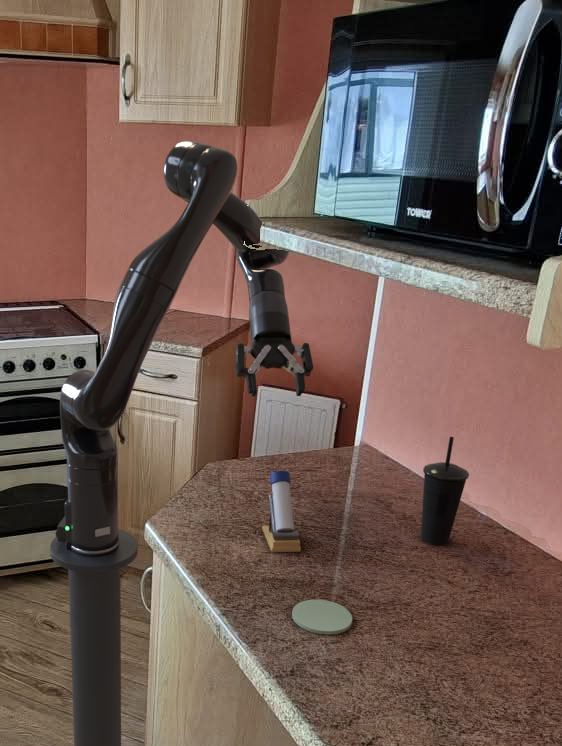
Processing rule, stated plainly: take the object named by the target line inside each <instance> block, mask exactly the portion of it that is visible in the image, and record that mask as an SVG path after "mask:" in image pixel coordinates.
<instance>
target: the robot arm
mask: <svg viewBox="0 0 562 746" xmlns="http://www.w3.org/2000/svg"><path fill="white" fill-rule="evenodd" d="M237 175H238V161H237V158H236V156H235V155H234V154H233V153H232V152H230V151H228V150H225V149H223V148H219V147H216V146H212V145H210V144H209V145H208V144H205V143H201V142H198V141H191V140H183V141H180V142H178V143H176V144H175V145H173V147H172V148H171V149H170V151H169V152H168V153H167V155H166V158H165V161H164V164H163V180H164V184H165V185H166V186H165V187H167V189H168V190H169V192H171V194H173V195H175V196H176V197H178V198H180V199H182V200H183V201H184V202H185V203H187V205H185V206H186V207H185V208H184V210H183V211H182V213H181V215H180V216H179V218H178V219H177V220H176V222H175V223H174V224H173V225H172V226H171V227H170V228H169V229H168V230H167V231H166V232H165V233H163V234H162V235H161V236H159V237H158V238H156V239H155V240H153V242H151V243H150V244H148V245H147V246H146V247H145V248H144V249H142V250H141V251H140V252H139V253H138V254H137V255H136V256H135V257H134V258H133V259H132V261H131V263H130V264H129V266H128V268H127V270H126V272H125V274H124V276H123V279H122V281H121V283H120V284H119V287H118V289H117V292H116V294H115V298H114V301H113V307H112V312H111V321H110V322H111V323H110V333H109V338H108V343H107V346H106V349H105V351H104V354H103V356H102V358H101V360H100V362H99V364H98V366H97V368H96V370H95V371H93V370H90V369H79V370H77V371H75V372H73V373H71V374H70V375H69V376H68V377H67V378H66V379H65V381H64V382H63V384H62V386H61V388H60V389H61V390H60V394H59V417H60V429H61V440H62V444H63V449H64V450H65V454H66V455H65V456H66V472H67V473H66V475H67V477H66V478H67V480H66V481H67V500H66V501H65V502H64V516H63V518H62V519H61V521H60V522H59V523H58V525H57V526H56V530H55V537H57V538H58V542H66V550H71V551H73V552H74V553H76V554H79V555H82V556H90V557H96V556H104V555H107V554H110V553H112V552H114V551H115V550H117V548H118V547H119V534H118V529H119V450H118V445H117V443H116V441H115V440H114V437H113V435H112V432H111V431H110V429H112V428H113V427H114V426H115V425H116V424H117V423H118V422H119V420H120V419H121V417H122V416H123V414H124V412H125V410H126V408H127V406H128V403H129V400H130V398H131V395H132V392H133V389H134V386H135V383H136V381H137V378H138V375H139V372H140V370H141V368H142V365H143V362H144V361H145V358H146V356H147V355H148V352H149V350H150V349H151V346H152V344H153V342H154V340H155V338H156V335H157V333H158V331H159V329H160V326H161V325H162V323H163V321H164V319H165V318H166V315H167V314H168V311H169V310H170V307H171V305H172V304H173V301H174V299H175V297H176V295H177V293H178V291H179V288H180V286H181V284H182V282H183V280H184V278H185V275H186V274H187V271H188V269H189V268H190V265H191V263H192V261H193V260H194V257H195V256H196V253H197V252H198V250H199V248H200V247H201V244H202V242H203V240H204V239H205V238H206V235H207V234H208V233H209V231H210V229H211V228H212V226H215V227H216V229H217V230H219V232H220V233H222V235H223V236H224V237H225V239H226V240H228V242H229V243H230V244H231V245H232V246H233V248H235V258H236V262H237V264H238V266H239V268H240V269H241V272H242V273H243V277H244V279H245V282H246V286H247V293H248V303H249V307H248V323H249V329H250V337H251V338H250V339H251V346H250V345H245V344H243V343H242V342H240V343H238V344H237V347H236V350H235V374H236V377H238V378H241V377H243V378H245V380H246V388H247V389H246V391H247V393H248V395H249V394H250V397H256V396H257V392H258V387H257V377H256V374H257V373H258V372H259V371H260V369H261V368H264V369H266V370H267V369H281V370H282V368H284V370H285V371H286V372H287V373H290V374H291V375H292V376H293V377H294V387H295V394H296V395H295V396H296V397H301V396H302V394H304V393H305V389H306V382H305V381H306V380H305V377H310V376H311V374H312V372H313V370H314V363H313V358H312V353H311V347H310V344H309V343H308V342H303V344H302V345H294V343H293V341H292V333H291V324H290V317H289V308H288V303H287V300H286V294H285V284H284V279H283V275H282V273H281V272H279V271H278V270H276V269H273V267H275V266H278V265H281V264H283V263H284V262H286V260H287V258H288V256H289V254H290V250H289V251H285V250H277V249H265V250H256V249H250V248H248V247H246V246H245V245H243V244H244V241H245V244H246V245H247V246H249V245H252V247H255V248H259V247H262V246H260V245H253V244H258V243H260V228H261V225H262V221H263V220H262V219H261V218H260V217H259V216H258V213H256V212H255V210H254V209H253V208H252V207H251V205H249V204H248V203H247V202H246V201H245V200H243V199H241V198H240V197H239V196H238V195H236V194H234V193H233V192H232V190H233V188H234V186H235V182H236V179H237ZM247 205H249V206H247ZM261 220H262V221H261ZM271 268H272V269H271ZM248 354H250V355H251V357H252V358H253V359H254V360H253V362H252V363H251V365H250V366H249V367H245V358H247V357H248ZM294 354H297V357H298V358H299V359H300V360H301V363H302V366H301V364H300V363H299V362H298V360H297V358H296V357H295V356H294Z"/></svg>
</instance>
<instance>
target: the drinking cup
mask: <svg viewBox="0 0 562 746" xmlns="http://www.w3.org/2000/svg"><path fill="white" fill-rule="evenodd" d="M454 439H455V437H454V436H449V439H448V446H447V451H446V457H445V462H440V461H439V462H435V463H429V464H426V465H425V466H423V469H422V471H423V474H424V476H423V494H422V507H421V508H422V509H421V527H420V538H421V541H422V542H424V543H426V544H429V545H432V546H445V545H447V544H449V542H450V537H451V534H452V530H453V527H454V523H455V520H456V516H457V513H458V511H459V510H458V509H459V506H460V503H461V499H462V496H463V492H464V488H465V485H466V481H467V480H468V479H469V476H470V473H469V471H468V470H467V469H465V468H463V467H461V466H459V465H457V464H455V463H452V462H451V457H452V451H453V445H454Z"/></svg>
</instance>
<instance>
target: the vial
mask: <svg viewBox="0 0 562 746" xmlns="http://www.w3.org/2000/svg"><path fill="white" fill-rule="evenodd" d="M290 474H291V473H290V472H288V471H287V470H276V471H273V472H271V473H270V474H269V481H270V482H269V483H270V486H271V489H272V490H271V491H272V495H273V503H274V513H275V524H276V531H295V523H294V514H293V506H292V505H293V504H292V495H291V486H290V485H291V475H290Z"/></svg>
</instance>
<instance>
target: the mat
mask: <svg viewBox="0 0 562 746" xmlns="http://www.w3.org/2000/svg"><path fill="white" fill-rule="evenodd" d="M352 615H353V614H352V613H351V612H350V611H349V610H348V608H346V607H345V606H343V605H341V604H339V603H337V602H334V601H331V600H326V599H314V598H313V599H307V600H302V601H300V602H298V603H296V604H295V605H294V607H293V608H292V611H291V618H292V620H293V621H294V623H295V624H296V625H297V626H299V627H300V628H302V629H303V630H305V631H308V632H311V633H314V634H319V635H338V634H342V633H344V632H346V631H348V630H349V629H350V628H351V626H352V625H353V616H352Z"/></svg>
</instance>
